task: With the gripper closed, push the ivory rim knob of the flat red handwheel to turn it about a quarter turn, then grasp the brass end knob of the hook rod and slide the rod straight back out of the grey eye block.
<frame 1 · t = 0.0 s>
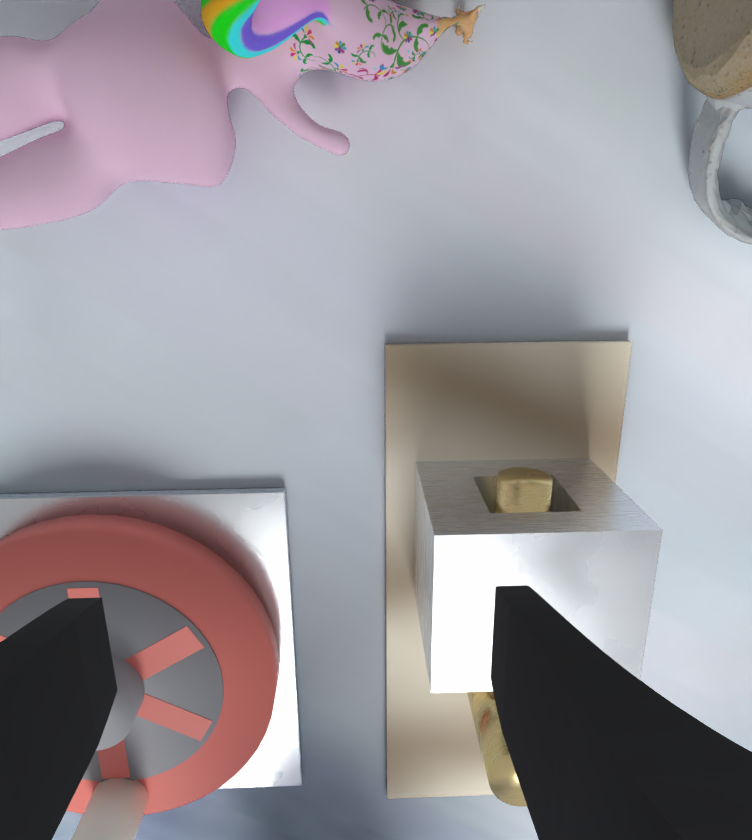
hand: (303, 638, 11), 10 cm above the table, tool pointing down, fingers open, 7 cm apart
rabbit figure: (214, 91, 18), on the table
eye block: (497, 521, 22), resting on birch base board
birch base board: (492, 593, 23), on the table
wheel plate: (121, 649, 23), on the table
hook rod: (515, 622, 19), point 3 cm above the table, slide at 0.0 cm
handwheel: (92, 702, 20), point 3 cm above the table, hinge at 0.0°
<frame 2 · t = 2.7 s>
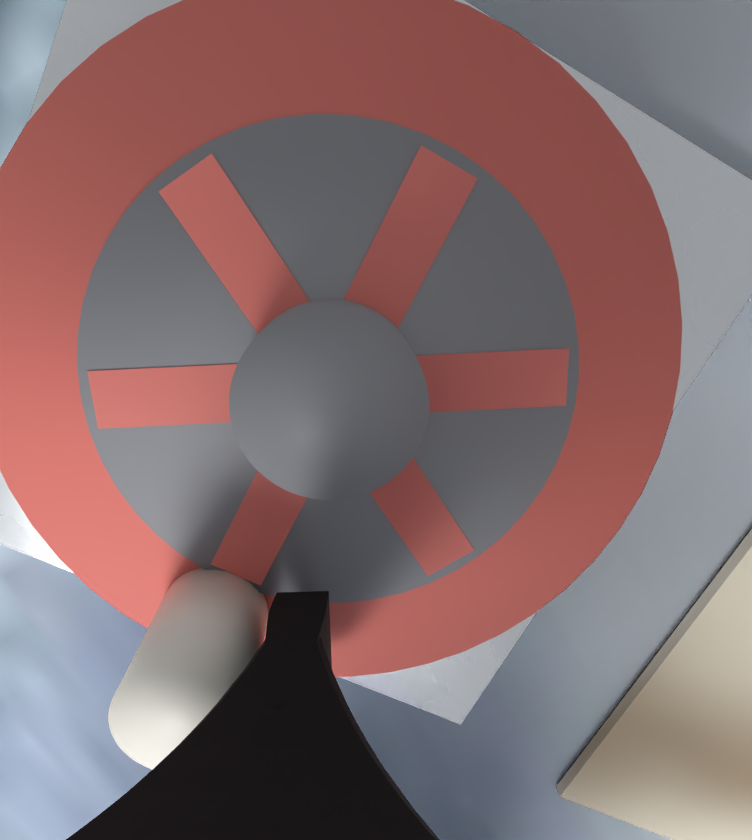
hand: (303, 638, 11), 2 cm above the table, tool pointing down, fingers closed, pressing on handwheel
wheel plate: (335, 363, 12), on the table
handwheel: (330, 399, 10), point 3 cm above the table, hinge at 0.6°, touching gripper
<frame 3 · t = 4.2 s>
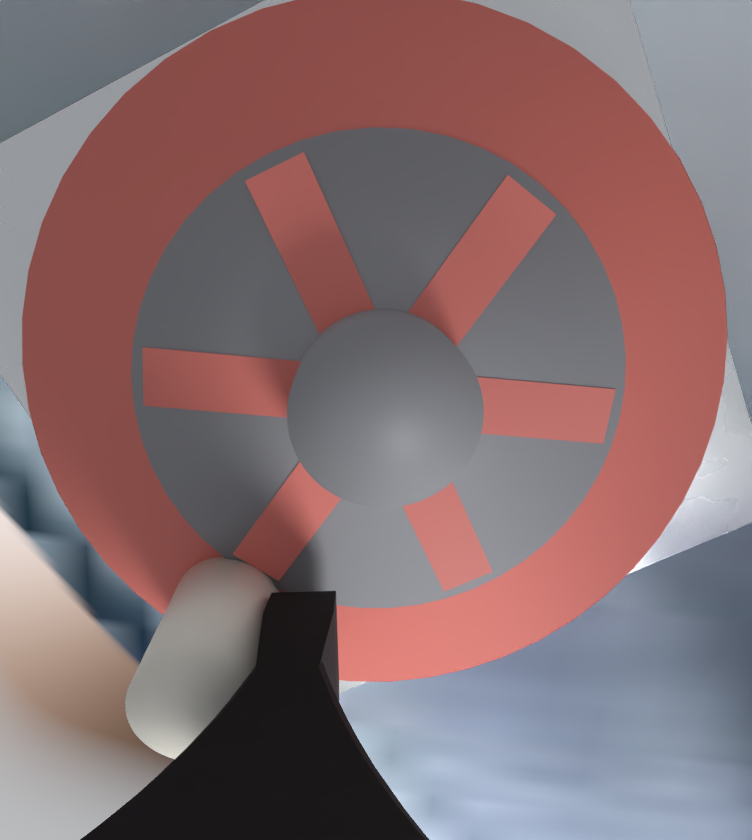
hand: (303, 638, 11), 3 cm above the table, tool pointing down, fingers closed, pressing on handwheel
wheel plate: (377, 370, 12), on the table
handwheel: (384, 407, 10), point 3 cm above the table, hinge at 60.9°, touching gripper
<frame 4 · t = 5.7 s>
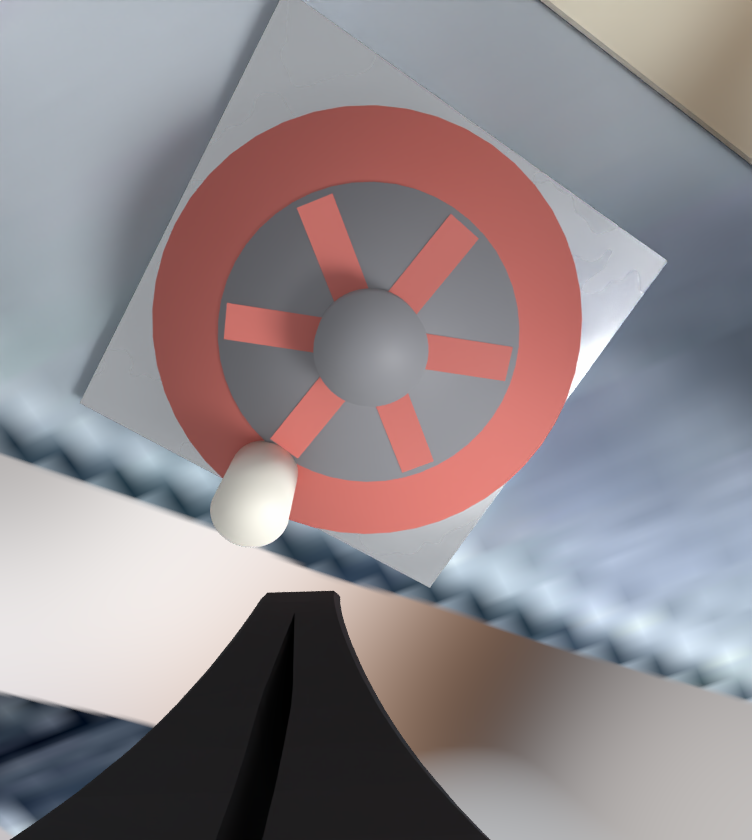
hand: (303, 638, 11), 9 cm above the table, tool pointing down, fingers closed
wheel plate: (368, 331, 19), on the table
handwheel: (370, 347, 16), point 3 cm above the table, hinge at 97.4°
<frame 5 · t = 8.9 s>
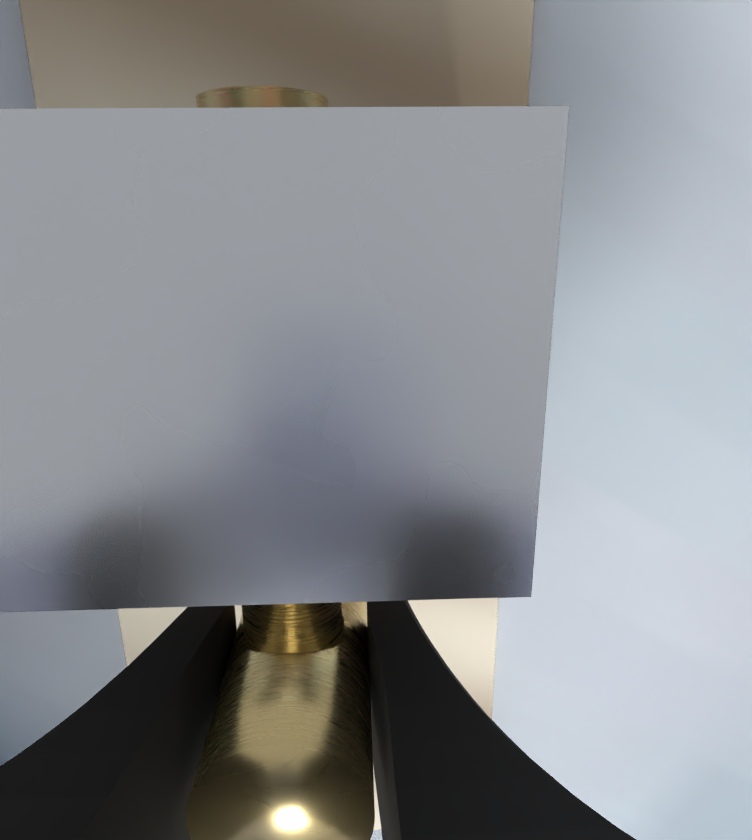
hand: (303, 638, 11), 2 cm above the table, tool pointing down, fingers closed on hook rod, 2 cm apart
eye block: (296, 312, 11), resting on birch base board
birch base board: (304, 463, 12), on the table
hook rod: (284, 476, 9), point 3 cm above the table, slide at 0.0 cm, touching gripper
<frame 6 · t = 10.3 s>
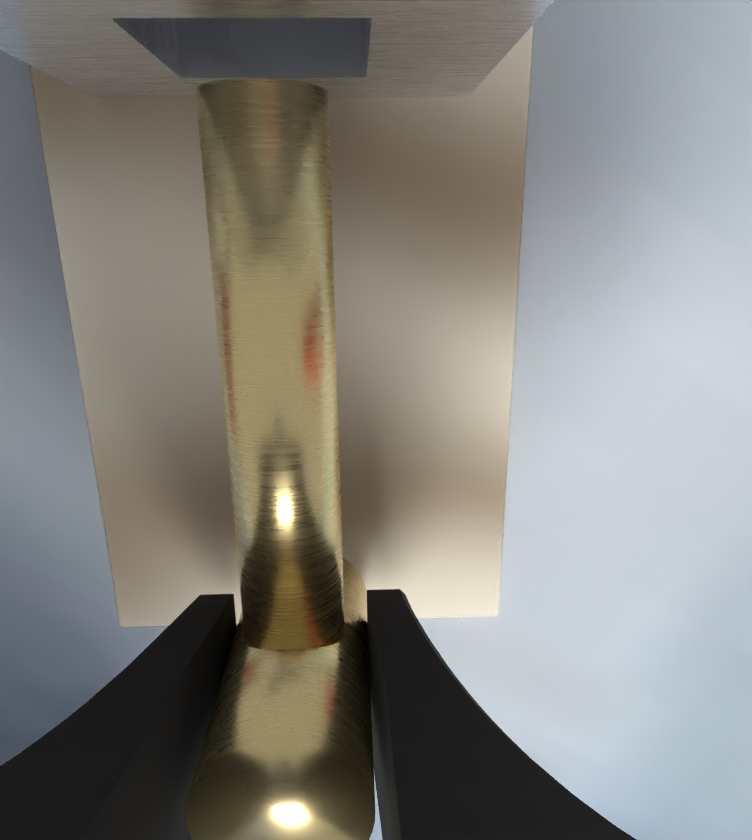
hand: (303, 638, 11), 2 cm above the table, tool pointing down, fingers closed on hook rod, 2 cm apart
birch base board: (288, 133, 10), on the table
hook rod: (284, 472, 9), point 3 cm above the table, slide at 5.9 cm, touching gripper
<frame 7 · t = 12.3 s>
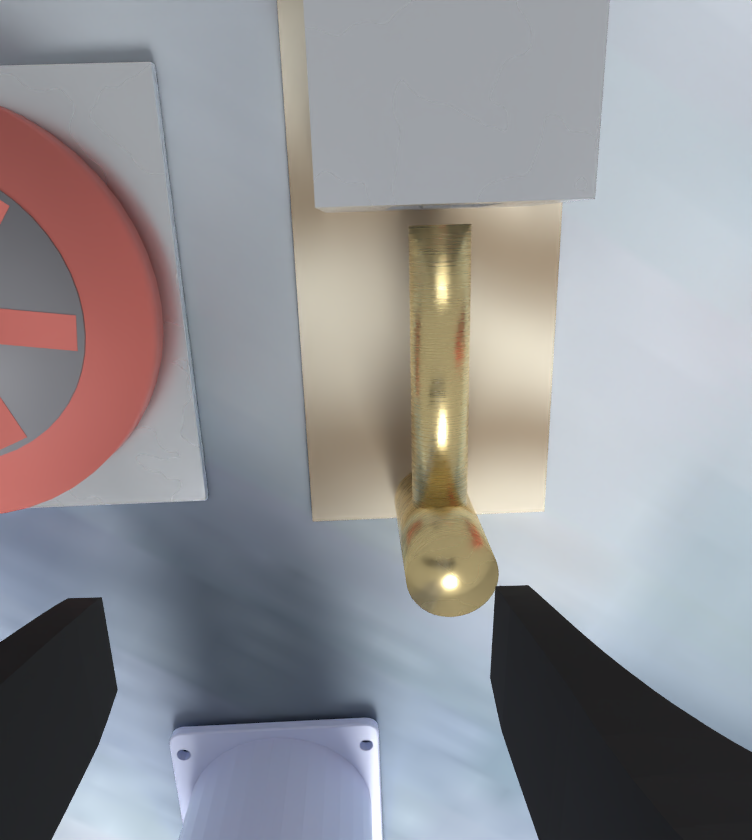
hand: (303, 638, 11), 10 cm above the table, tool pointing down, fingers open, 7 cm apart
eye block: (426, 117, 17), resting on birch base board
birch base board: (426, 227, 18), on the table
hook rod: (440, 412, 17), point 3 cm above the table, slide at 5.9 cm
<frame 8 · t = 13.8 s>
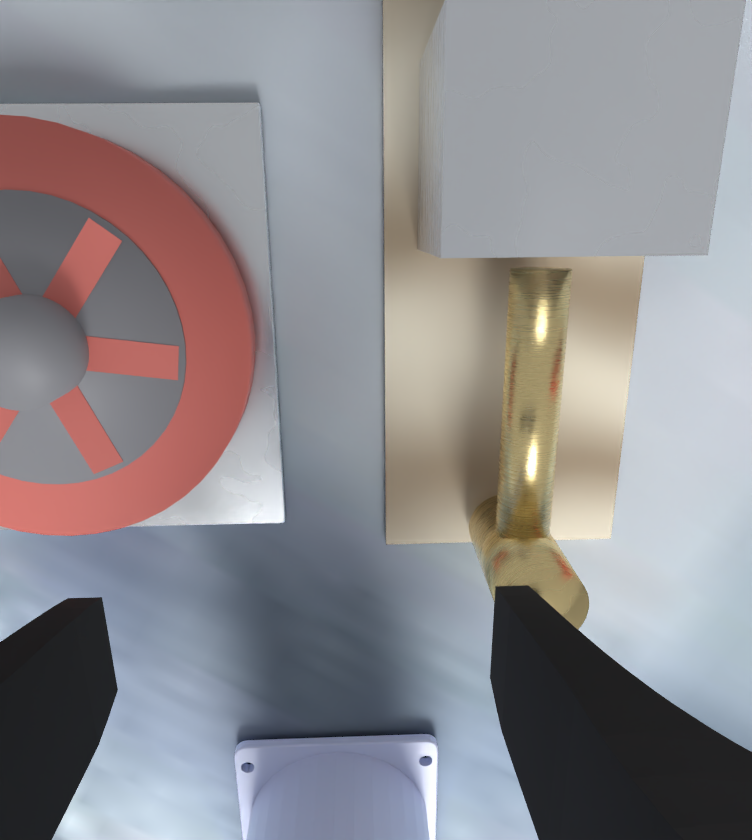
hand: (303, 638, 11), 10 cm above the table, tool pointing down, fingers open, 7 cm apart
eye block: (518, 160, 18), resting on birch base board
birch base board: (512, 264, 19), on the table
wheel plate: (66, 335, 19), on the table
hook rod: (529, 446, 17), point 3 cm above the table, slide at 5.9 cm
handwheel: (23, 352, 17), point 3 cm above the table, hinge at 97.4°
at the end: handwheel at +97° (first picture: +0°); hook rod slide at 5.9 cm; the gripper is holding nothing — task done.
